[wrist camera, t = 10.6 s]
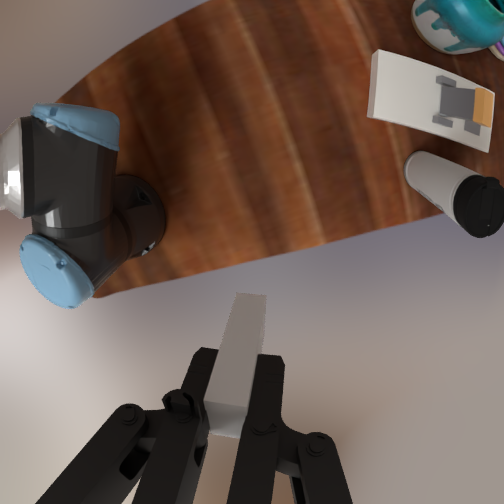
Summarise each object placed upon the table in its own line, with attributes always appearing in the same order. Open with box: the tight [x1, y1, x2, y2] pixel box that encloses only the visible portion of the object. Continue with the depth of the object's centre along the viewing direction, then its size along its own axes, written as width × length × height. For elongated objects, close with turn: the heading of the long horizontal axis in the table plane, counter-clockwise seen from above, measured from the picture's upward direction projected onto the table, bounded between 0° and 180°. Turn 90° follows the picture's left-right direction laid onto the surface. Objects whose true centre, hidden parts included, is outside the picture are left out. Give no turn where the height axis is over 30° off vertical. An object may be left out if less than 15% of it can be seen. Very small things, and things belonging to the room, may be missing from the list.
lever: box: [439, 85, 494, 128], centre depth 25 cm, size 2×4×9 cm, turn 176°
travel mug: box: [404, 151, 504, 238], centre depth 29 cm, size 6×7×20 cm
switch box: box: [367, 49, 495, 153], centre depth 30 cm, size 20×10×6 cm, turn 86°
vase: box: [411, 0, 504, 54], centre depth 18 cm, size 11×11×19 cm
